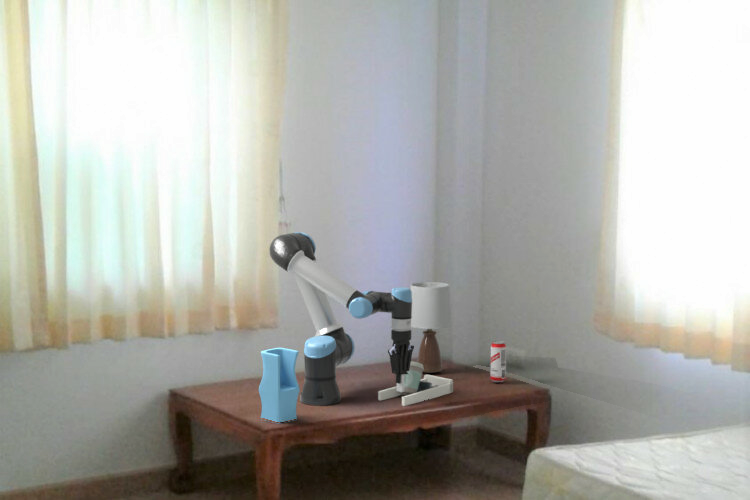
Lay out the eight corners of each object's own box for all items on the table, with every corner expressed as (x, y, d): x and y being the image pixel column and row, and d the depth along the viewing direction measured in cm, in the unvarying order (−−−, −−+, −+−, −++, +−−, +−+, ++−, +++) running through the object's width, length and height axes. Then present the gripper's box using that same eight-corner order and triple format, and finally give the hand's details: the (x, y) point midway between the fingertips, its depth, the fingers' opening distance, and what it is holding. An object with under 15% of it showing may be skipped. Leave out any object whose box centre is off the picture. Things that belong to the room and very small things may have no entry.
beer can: (498, 383, 368) (499, 344, 366) (487, 380, 372) (487, 342, 371) (508, 380, 372) (509, 342, 370) (497, 378, 376) (497, 340, 375)
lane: (404, 407, 333) (404, 393, 332) (378, 400, 341) (378, 387, 341) (452, 392, 354) (453, 379, 353) (427, 386, 363) (427, 374, 362)
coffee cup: (393, 392, 347) (398, 363, 352) (412, 399, 350) (418, 369, 355) (403, 389, 340) (409, 358, 345) (423, 395, 343) (428, 365, 347)
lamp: (410, 364, 402) (410, 281, 398) (452, 365, 399) (452, 282, 395) (405, 374, 383) (405, 287, 380) (449, 375, 381) (450, 288, 377)
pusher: (429, 396, 346) (429, 383, 346) (411, 392, 352) (411, 379, 352) (446, 391, 354) (446, 378, 353) (428, 387, 360) (428, 375, 359)
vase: (278, 428, 306) (277, 355, 304) (259, 423, 313) (258, 351, 310) (299, 422, 314) (299, 351, 311) (280, 416, 320) (279, 347, 318)
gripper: (397, 333, 331) (397, 396, 334) (420, 328, 341) (419, 389, 344) (382, 330, 336) (381, 392, 339) (404, 325, 346) (403, 386, 349)
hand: (400, 391), depth 341 cm, fingers closed
